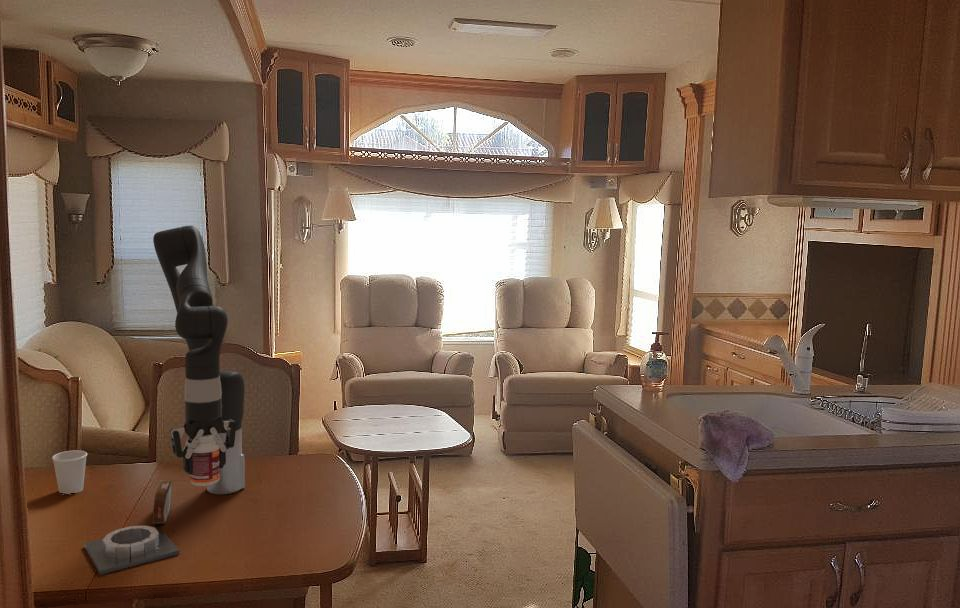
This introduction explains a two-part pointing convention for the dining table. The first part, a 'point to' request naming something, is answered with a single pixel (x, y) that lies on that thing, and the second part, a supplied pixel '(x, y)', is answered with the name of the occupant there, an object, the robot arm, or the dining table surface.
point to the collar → (130, 548)
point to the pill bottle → (205, 462)
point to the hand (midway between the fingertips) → (204, 470)
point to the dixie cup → (70, 470)
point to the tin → (162, 502)
